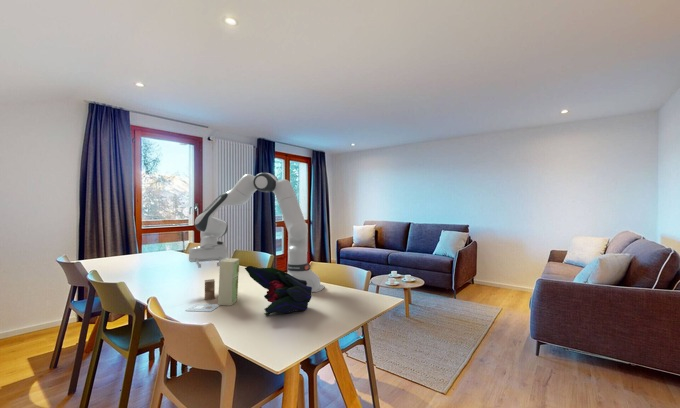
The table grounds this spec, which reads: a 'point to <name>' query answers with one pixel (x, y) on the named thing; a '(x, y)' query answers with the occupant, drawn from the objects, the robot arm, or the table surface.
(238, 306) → the table surface
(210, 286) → the walnut block
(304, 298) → the decorative plant
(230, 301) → the tall cream box
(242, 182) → the robot arm
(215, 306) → the page
